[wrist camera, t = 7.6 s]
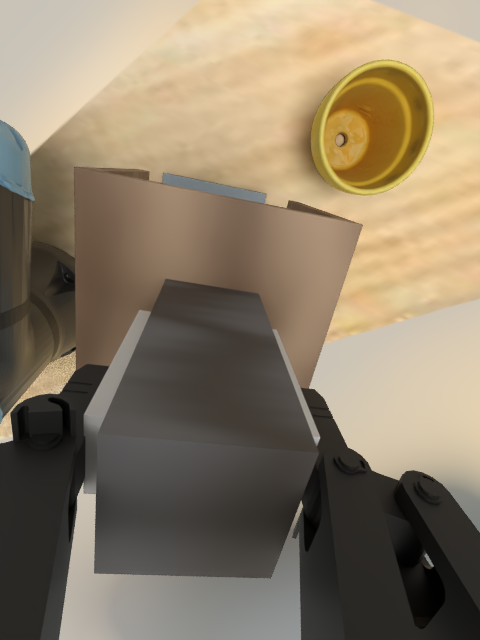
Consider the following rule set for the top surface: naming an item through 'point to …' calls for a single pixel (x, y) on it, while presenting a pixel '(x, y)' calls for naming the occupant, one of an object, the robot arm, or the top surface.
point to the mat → (213, 188)
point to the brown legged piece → (201, 367)
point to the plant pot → (373, 128)
